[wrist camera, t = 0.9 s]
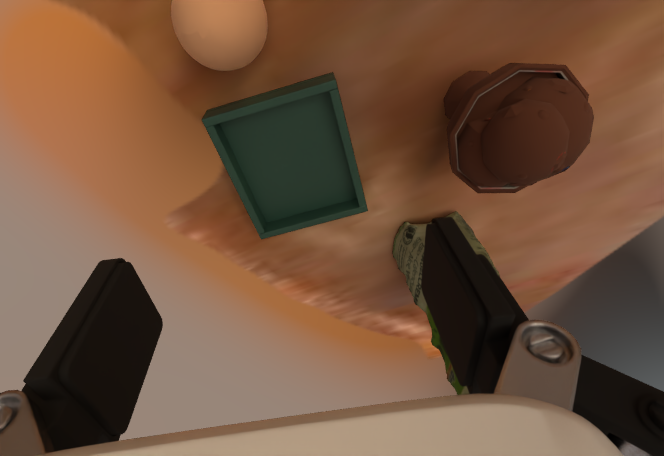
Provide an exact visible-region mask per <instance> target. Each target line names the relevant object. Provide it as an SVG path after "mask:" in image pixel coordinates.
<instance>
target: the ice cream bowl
mask: <svg viewBox="0 0 664 456" xmlns="http://www.w3.org/2000/svg"><path fill="white" fill-rule="evenodd" d="M588 96H589V94H588V93H587V92H586V90H585V89H584V88H583V87H582V85H581V84H580V83H579V81H578V80H577V79H576V78H575V76H574V75H573V74H572V72H571V71H570V70H569V69H568V67H567V66H566V65H556V64H525V63H509V64H507V65H505V66H503V67H501V68H500V69H498V70H497V71H495V72H493V73H492V74H490V75H489V73H488V72H487V71H469V72H467V73H465V74H464V75H462V76H461V77H459V78H458V79H456V80H455V81H453V82H452V84H451V86H450V88H449V90H448V92H447V94H446V95H445V97H444V107H445V115H446V116H447V117H448V118H449V119H450V121H449V123H448V126H447V136H448V148H449V159H450V165H451V169H452V172H453V173H454V174H455V175H456V176H457V177H459V178H460V179H461V180H462V181H463V182H465V183H466V184H467V185H468V186H470V187H471V188H472V189H473V190H474V191H476V192H477V193H516V192H517V191H519V190H521V189H523V188H525V187H527V186H529V185H533V184H534V183H536V182H537V181H540V180H543V179H546V178H549V177H551V176H553V175H556V174H558V173H561V172H563V171H565V170H567V169H568V168H569V167H570V166H571V165H572V164H573V163H574V162H575V161H576V159H577V158H578V157H579V156H580V154H581V153H582V152H583V150H584V149H585V148H586V146H587V145H588V144H589V142H590V137H591V131H592V125H593V120H594V115H593V111H592V107H591V106H590V105H589V103H588Z"/></svg>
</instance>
